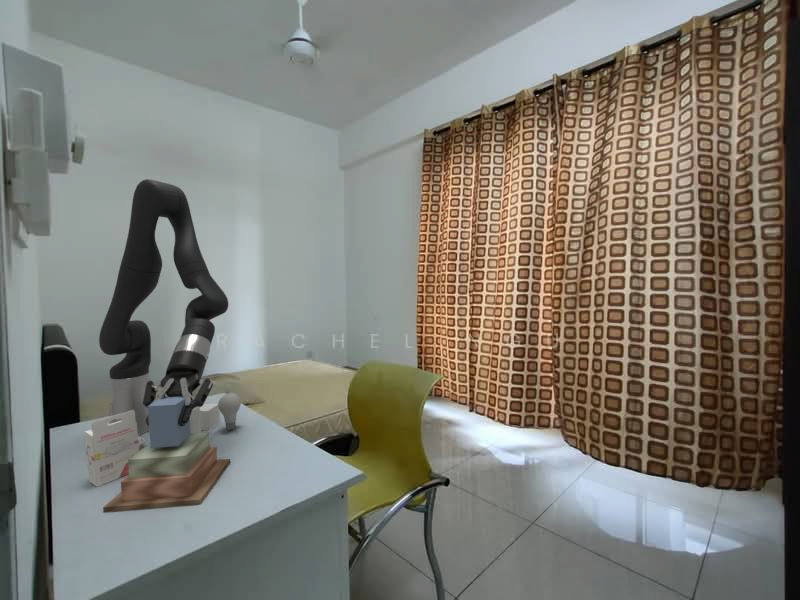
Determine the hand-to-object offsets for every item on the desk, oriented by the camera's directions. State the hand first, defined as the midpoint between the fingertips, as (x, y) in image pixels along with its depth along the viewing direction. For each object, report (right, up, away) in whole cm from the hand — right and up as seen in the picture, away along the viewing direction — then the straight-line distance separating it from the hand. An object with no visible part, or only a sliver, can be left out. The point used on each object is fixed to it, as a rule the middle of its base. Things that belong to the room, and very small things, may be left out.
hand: (166, 425), depth 75 cm
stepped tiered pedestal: (0, -14, +3) cm, 14 cm away
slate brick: (0, -4, +2) cm, 5 cm away
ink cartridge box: (-16, -14, +7) cm, 23 cm away
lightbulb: (-1, -13, +31) cm, 33 cm away
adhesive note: (-10, -13, +34) cm, 37 cm away
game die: (-21, -14, +19) cm, 32 cm away
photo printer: (-10, -13, +21) cm, 27 cm away
